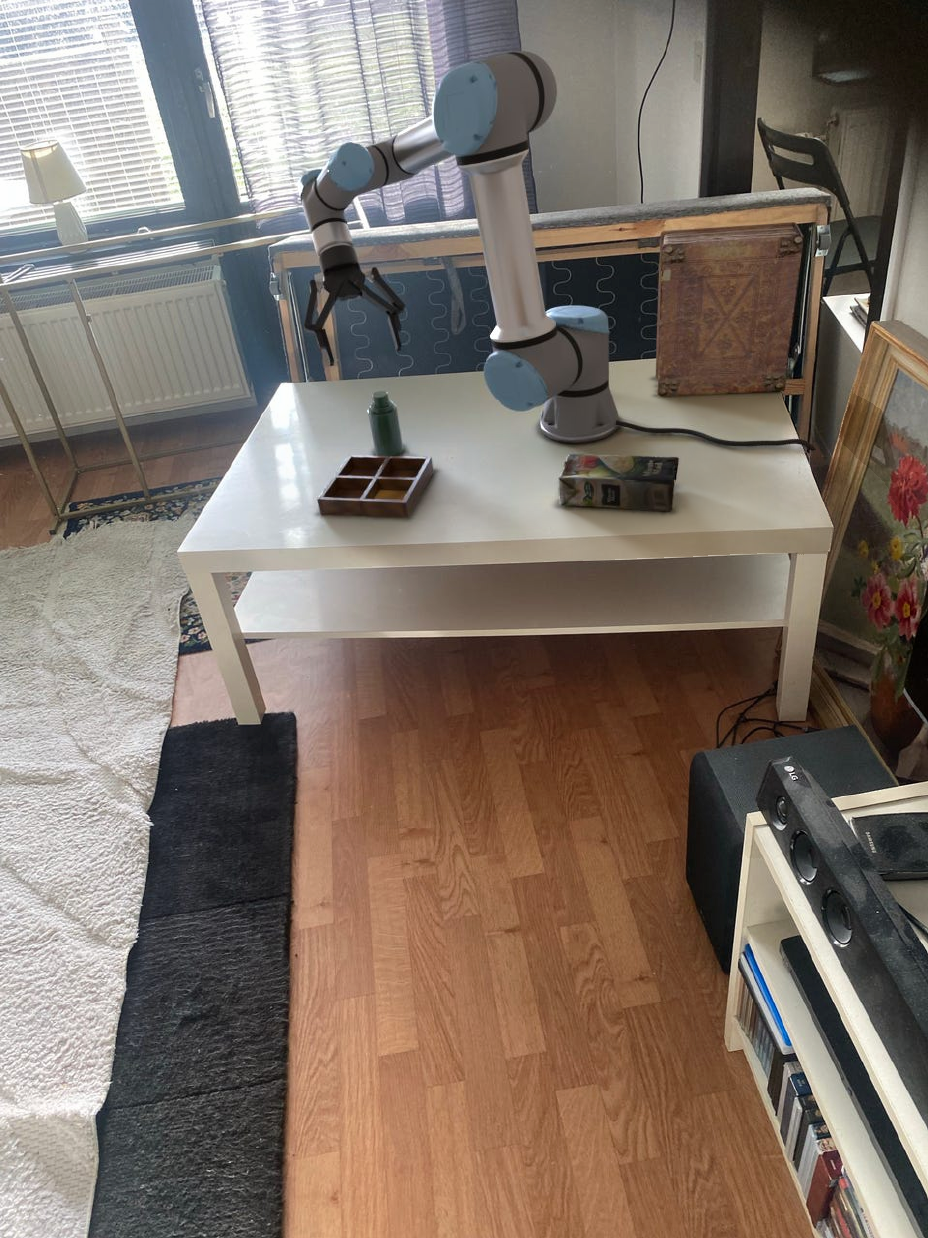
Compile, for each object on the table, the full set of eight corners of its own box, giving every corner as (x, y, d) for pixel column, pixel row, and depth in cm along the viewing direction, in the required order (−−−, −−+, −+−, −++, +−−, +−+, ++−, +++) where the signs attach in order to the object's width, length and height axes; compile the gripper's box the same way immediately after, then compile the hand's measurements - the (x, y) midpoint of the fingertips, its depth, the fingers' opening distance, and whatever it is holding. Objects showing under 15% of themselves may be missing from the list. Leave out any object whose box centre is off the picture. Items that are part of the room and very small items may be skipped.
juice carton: (552, 506, 156) (551, 474, 152) (563, 479, 163) (562, 448, 159) (671, 514, 150) (673, 481, 146) (677, 485, 157) (679, 453, 154)
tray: (433, 471, 170) (431, 456, 169) (408, 517, 158) (405, 502, 156) (351, 469, 175) (348, 454, 173) (320, 514, 162) (317, 499, 160)
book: (656, 396, 186) (660, 244, 168) (655, 377, 193) (659, 230, 175) (785, 391, 182) (803, 235, 164) (779, 372, 189) (796, 221, 171)
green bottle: (406, 444, 181) (398, 388, 173) (398, 458, 176) (389, 400, 169) (380, 444, 182) (370, 387, 175) (371, 457, 178) (361, 400, 170)
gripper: (395, 249, 184) (424, 349, 183) (274, 273, 179) (303, 376, 178) (398, 231, 176) (429, 335, 176) (272, 256, 171) (303, 363, 171)
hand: (365, 356), depth 177 cm, fingers open, 13 cm apart
